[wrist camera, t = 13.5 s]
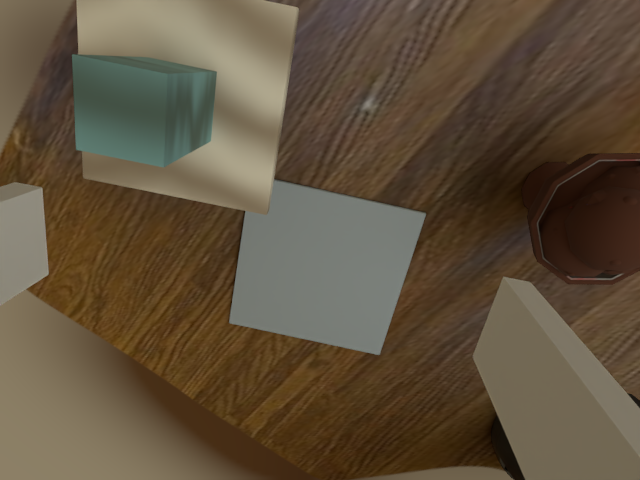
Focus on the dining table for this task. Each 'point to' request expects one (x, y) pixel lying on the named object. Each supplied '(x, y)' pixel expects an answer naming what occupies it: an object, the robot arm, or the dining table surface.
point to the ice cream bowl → (586, 217)
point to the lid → (183, 96)
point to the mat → (323, 266)
